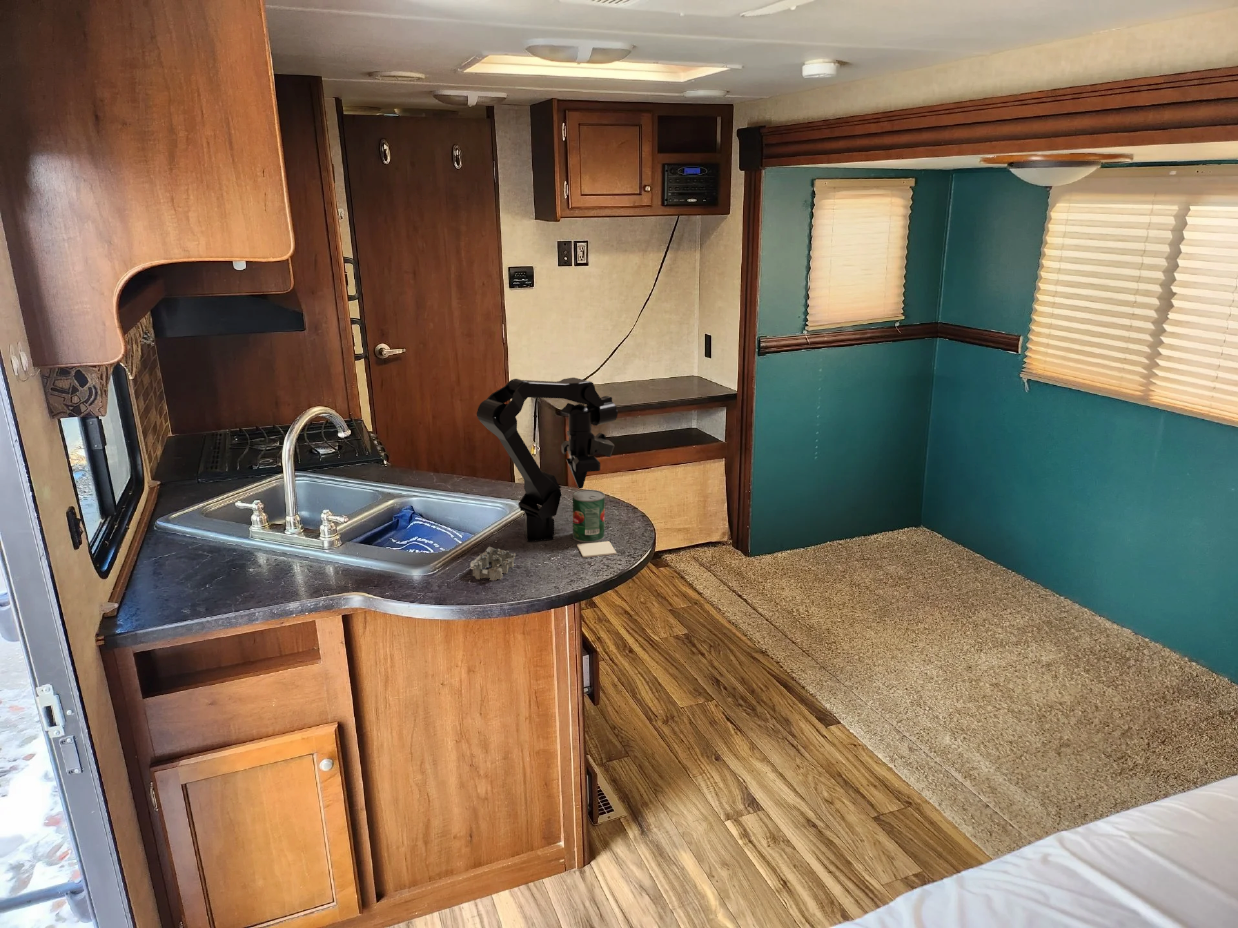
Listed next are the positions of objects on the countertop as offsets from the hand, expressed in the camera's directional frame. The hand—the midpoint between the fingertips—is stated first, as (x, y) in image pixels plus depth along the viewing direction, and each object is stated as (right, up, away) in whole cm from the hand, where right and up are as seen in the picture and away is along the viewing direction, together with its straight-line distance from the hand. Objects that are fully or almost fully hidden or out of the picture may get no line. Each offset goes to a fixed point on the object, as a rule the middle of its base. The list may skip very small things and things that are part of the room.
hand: (580, 487), depth 212 cm
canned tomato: (+2, -12, -6) cm, 14 cm away
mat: (+5, -14, -14) cm, 20 cm away
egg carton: (-18, -18, -25) cm, 36 cm away
